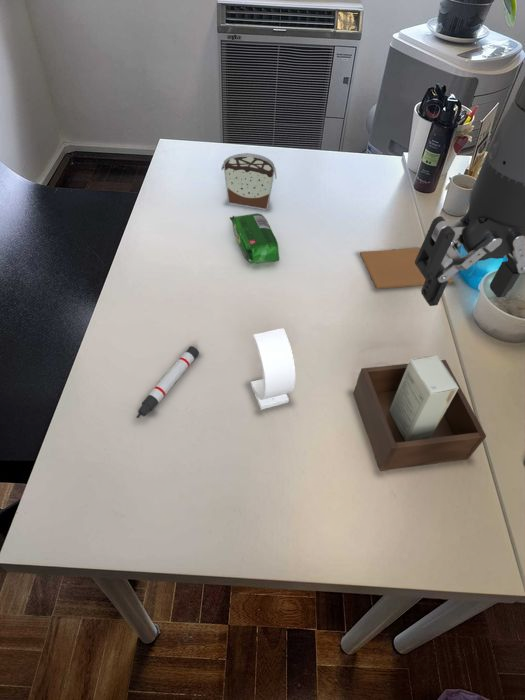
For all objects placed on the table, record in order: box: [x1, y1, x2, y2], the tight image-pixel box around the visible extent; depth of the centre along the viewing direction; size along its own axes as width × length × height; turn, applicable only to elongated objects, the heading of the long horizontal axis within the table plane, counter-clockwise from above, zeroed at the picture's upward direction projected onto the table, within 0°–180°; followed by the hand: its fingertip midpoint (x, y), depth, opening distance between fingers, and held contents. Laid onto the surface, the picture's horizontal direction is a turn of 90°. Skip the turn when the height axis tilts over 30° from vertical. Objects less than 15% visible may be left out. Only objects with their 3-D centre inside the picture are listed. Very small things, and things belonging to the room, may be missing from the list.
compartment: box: [352, 359, 487, 472], centre depth 70 cm, size 14×14×7 cm
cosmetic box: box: [389, 354, 459, 441], centre depth 67 cm, size 6×4×12 cm
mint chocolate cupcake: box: [221, 152, 277, 211], centre depth 107 cm, size 12×6×10 cm, turn 77°
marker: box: [135, 345, 200, 419], centre depth 74 cm, size 15×2×2 cm, turn 152°
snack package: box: [229, 212, 280, 265], centre depth 97 cm, size 7×16×5 cm, turn 17°
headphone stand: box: [250, 327, 296, 411], centre depth 70 cm, size 5×6×12 cm
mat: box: [359, 247, 454, 290], centre depth 97 cm, size 16×11×1 cm
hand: (463, 296), depth 54 cm, fingers open, 8 cm apart
